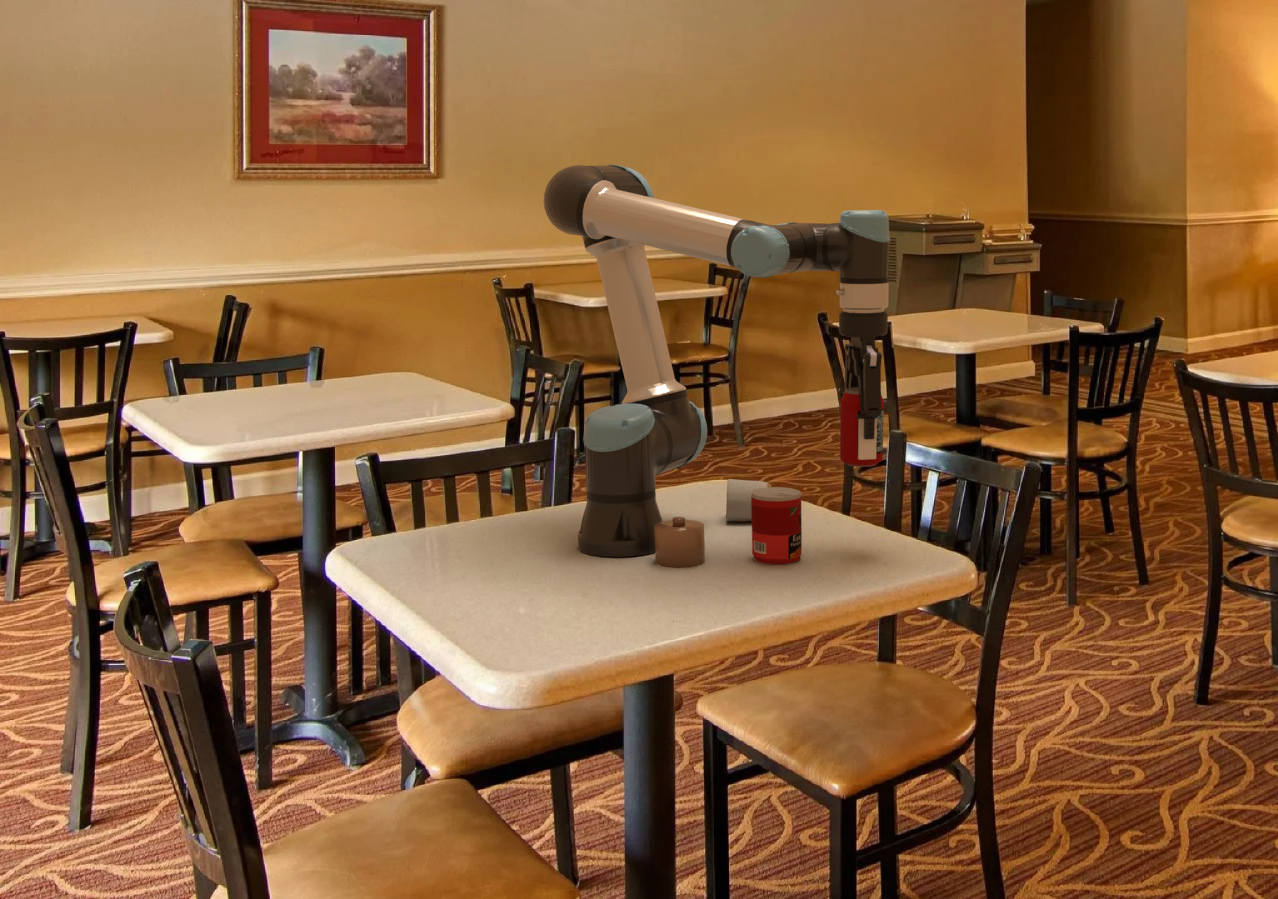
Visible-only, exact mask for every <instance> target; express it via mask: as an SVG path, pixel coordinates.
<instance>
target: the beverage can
mask: <svg viewBox="0 0 1278 899" xmlns="http://www.w3.org/2000/svg"><path fill="white" fill-rule="evenodd" d="M884 403H885V400H884V398H883V395H881V416H878V418H877V436H876V459H864V460H859V459H858V424H859V419H857V418H856V416H857V415H858V414H861V412H860V397H859V387H852V388H847V389H845V393H844V392H843V395H842V397H841V398H840V416H839V417H840V420H839V422H840V423H839V425H840V426H839V428H840V432H839V434H840V436H839V441H840V442H839V446H840V447H839V459H840V461H842V462H843V463H845V464H846V465H848V466H851V467H861V468H864V467H865V468H866V467H874V466H876V465H877V464H879V463H880V462H882V461H883V454H884V452H883V451H884V420H885V418H884V415H885V414H884V413H885V412H884V409H885V408H884V407H885V405H884ZM869 409H872V408H869Z"/></svg>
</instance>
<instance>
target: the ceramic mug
mask: <svg viewBox="0 0 1278 899" xmlns="http://www.w3.org/2000/svg"><path fill="white" fill-rule="evenodd" d="M769 487H772V484H770V483H769V482H766V481H761V480H745V479H734V478H733V479H732V478H728V479H727V483H726V510H725V512H726V513H725V517H726V519H725V520H726V522H729V523H731V522H732V523H733V522H734V523H736V522H737V523H738V522H739V523H740V522H741V523H742V522H751V523H752V515H751V495H752V491H754V490H756V489H761V488H769Z"/></svg>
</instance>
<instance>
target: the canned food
mask: <svg viewBox="0 0 1278 899" xmlns="http://www.w3.org/2000/svg"><path fill="white" fill-rule="evenodd" d="M801 492H802V491H800V490H798V489H795V488H792V487H783V486H782V487H781V486H774V487H773V486H771V487H769V488H761V489H756V490H754V491H752V495H751V515H752V522H751V552H752V553H751V554H752V557H753V560H755V561H756V562H758V563H761V564H766V565H788V564H794V563H797V562H798V561H800V560H801V557H802V553H803V552H802V550H803V549H802V548H803V547H802V546H803V545H802V544H803V543H802V542H803V541H802V539H803V538H802V537H803V536H802V532H803V531H802V529H803V528H802V522H803V521H802V520H803V519H802V493H801Z"/></svg>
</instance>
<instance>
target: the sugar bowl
mask: <svg viewBox="0 0 1278 899" xmlns="http://www.w3.org/2000/svg"><path fill="white" fill-rule="evenodd" d="M662 521H663V520H662ZM654 535H655V552H654V560H655V561H654V562H655V564H656V565H657V566H660V567H663V568H669V569H688V568H694V567H698V566H702V565H703V564H704V563H705V560H706V555H705V554H706V552H705V549H706V548H705V524H704V523H703V522H702V521H699V520H698V521H697V520H693V519H686V517H684V516H675V517H673V518H672V519H670V520H664V521H663V522H659V523H657V524H655V525H654Z"/></svg>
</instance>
